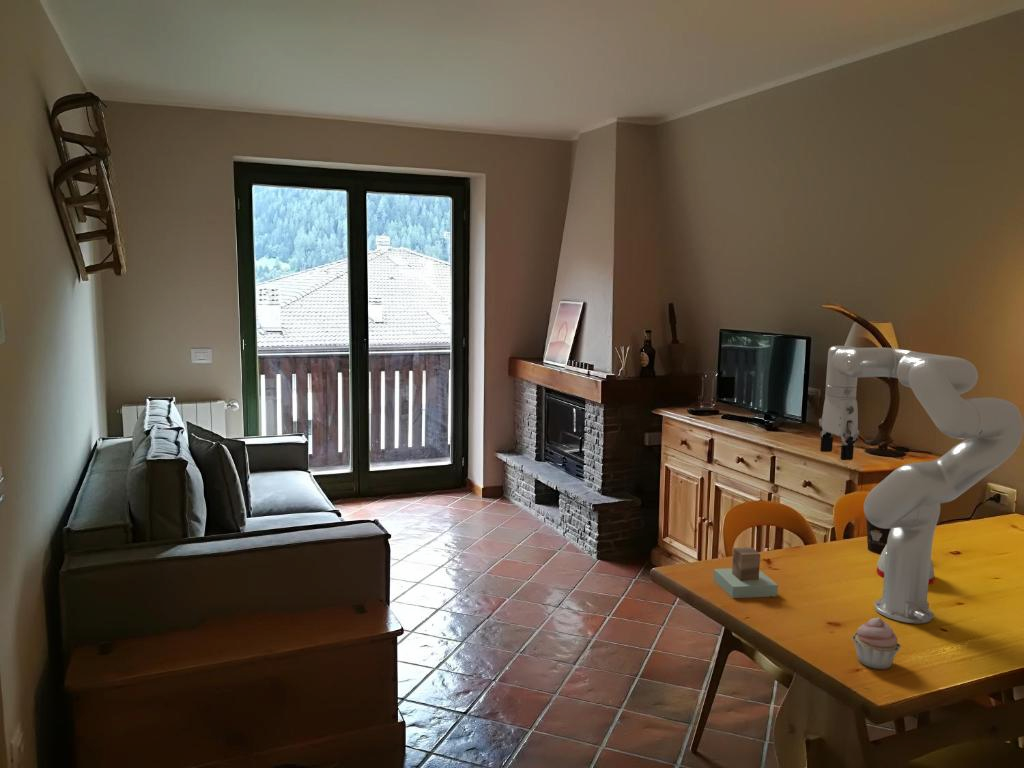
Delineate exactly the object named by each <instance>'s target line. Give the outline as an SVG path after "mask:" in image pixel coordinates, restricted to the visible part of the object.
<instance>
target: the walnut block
mask: <svg viewBox="0 0 1024 768" xmlns="http://www.w3.org/2000/svg"><path fill="white" fill-rule="evenodd" d="M760 565H761V553H760V552H759V551H757V550H756V549H754V548H753V547H752V546H750V547H749V546H747V547H733V549H732V566H731V568H732V574H733V575H734V576H735V577H737V578H738V579H739V580H740V581H749V580H759V570H760Z"/></svg>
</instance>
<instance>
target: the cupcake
mask: <svg viewBox="0 0 1024 768" xmlns="http://www.w3.org/2000/svg"><path fill="white" fill-rule="evenodd" d="M850 638H852V641H853V643H854V647H855V651H856V656H857V660H858V662H859V663H860V664H862V665H863V666H866V667H868V668H871V669H874V670H888V669H890V667H892V664H893V662H894V659H895V656H896V654H897V653H898V652H899V650H900V648H901V647H902V645H901V644H899V643H898V637H897V635H896V633H894V629H893V628H892V627H891V626H890V625H889V624H888V623H887V622H886V621H884V620H883V619H881V617H873V618H870V619H869V620H868V621H867V622H865V623H864V624H862V625H860V626H859V627H858V628H857V632H854V635H852V636H851V637H850Z"/></svg>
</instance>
